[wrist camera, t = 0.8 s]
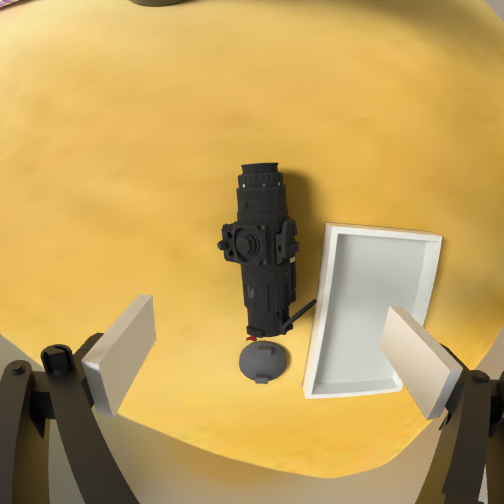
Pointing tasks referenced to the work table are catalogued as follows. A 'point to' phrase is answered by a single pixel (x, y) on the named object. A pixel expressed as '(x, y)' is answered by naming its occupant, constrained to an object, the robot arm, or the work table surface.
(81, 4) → the work table surface
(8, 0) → the pencil case
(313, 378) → the tray
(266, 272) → the night vision scope
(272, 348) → the lens cap
